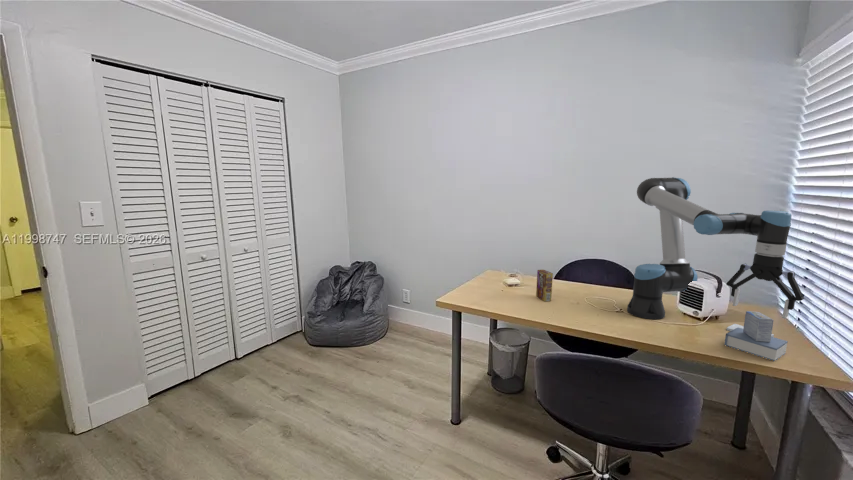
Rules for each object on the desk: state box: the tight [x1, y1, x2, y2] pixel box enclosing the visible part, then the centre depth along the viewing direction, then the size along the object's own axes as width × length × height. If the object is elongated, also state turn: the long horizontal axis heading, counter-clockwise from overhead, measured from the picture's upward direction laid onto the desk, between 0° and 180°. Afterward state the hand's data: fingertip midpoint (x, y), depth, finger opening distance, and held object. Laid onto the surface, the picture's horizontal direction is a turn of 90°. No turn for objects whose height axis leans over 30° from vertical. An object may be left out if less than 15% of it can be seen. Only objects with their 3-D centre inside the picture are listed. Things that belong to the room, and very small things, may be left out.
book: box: [724, 328, 788, 362], centre depth 127 cm, size 14×11×5 cm
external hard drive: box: [726, 323, 775, 338], centre depth 140 cm, size 2×8×12 cm
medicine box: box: [743, 310, 775, 342], centre depth 125 cm, size 8×4×9 cm, turn 164°
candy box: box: [535, 269, 554, 302], centre depth 183 cm, size 9×4×15 cm, turn 13°
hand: (758, 311), depth 125 cm, fingers open, 13 cm apart
